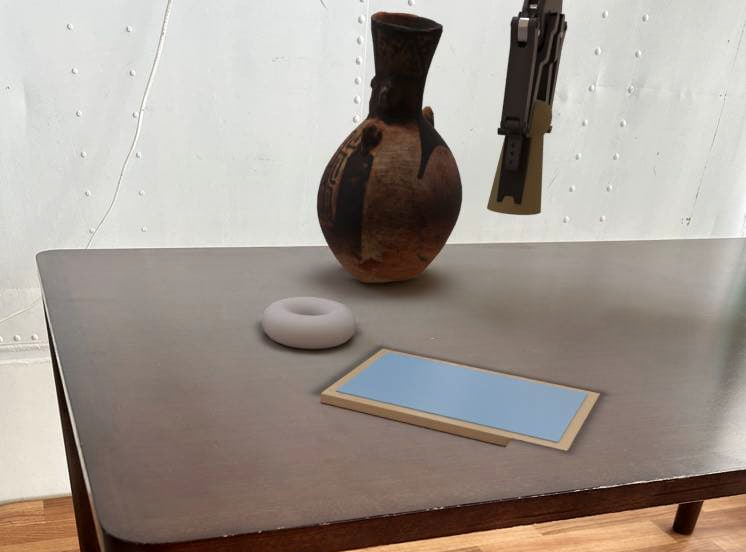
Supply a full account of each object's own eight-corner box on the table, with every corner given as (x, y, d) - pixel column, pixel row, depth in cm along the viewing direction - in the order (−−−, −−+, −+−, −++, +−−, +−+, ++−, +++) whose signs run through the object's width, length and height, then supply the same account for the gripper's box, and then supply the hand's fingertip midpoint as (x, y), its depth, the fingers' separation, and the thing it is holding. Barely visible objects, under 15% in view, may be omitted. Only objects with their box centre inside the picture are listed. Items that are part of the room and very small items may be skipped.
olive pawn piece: (477, 209, 91) (491, 97, 85) (501, 202, 95) (515, 96, 90) (527, 217, 88) (545, 102, 82) (549, 210, 92) (567, 100, 87)
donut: (370, 335, 90) (290, 317, 93) (372, 303, 88) (291, 286, 91) (328, 362, 82) (243, 341, 85) (331, 328, 80) (243, 308, 83)
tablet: (598, 402, 76) (600, 392, 75) (565, 461, 65) (567, 449, 65) (382, 356, 84) (382, 347, 83) (320, 402, 73) (320, 391, 72)
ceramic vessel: (372, 254, 120) (388, 13, 104) (478, 276, 112) (513, 19, 96) (284, 281, 106) (287, 5, 89) (399, 310, 98) (425, 12, 81)
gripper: (536, -51, 87) (504, 186, 99) (488, -70, 74) (458, 206, 86) (608, -50, 84) (566, 193, 96) (571, -70, 71) (528, 215, 83)
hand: (515, 199), depth 91 cm, fingers closed on olive pawn piece, 4 cm apart
